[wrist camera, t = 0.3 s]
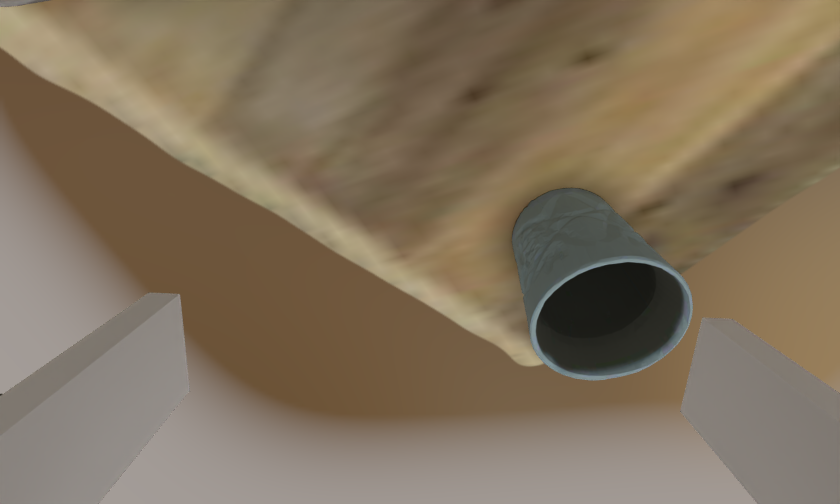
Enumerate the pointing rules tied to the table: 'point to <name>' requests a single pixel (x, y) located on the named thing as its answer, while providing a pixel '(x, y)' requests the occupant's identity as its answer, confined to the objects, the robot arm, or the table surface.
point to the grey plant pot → (595, 288)
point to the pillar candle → (17, 2)
